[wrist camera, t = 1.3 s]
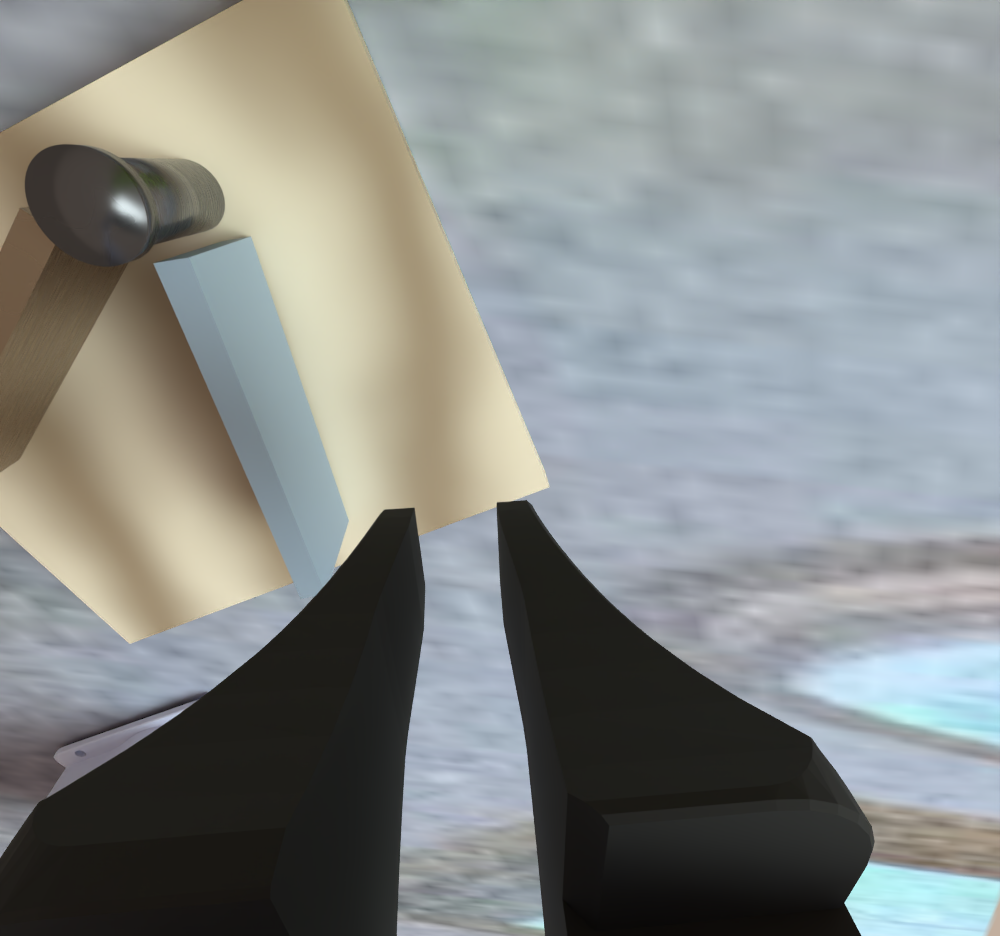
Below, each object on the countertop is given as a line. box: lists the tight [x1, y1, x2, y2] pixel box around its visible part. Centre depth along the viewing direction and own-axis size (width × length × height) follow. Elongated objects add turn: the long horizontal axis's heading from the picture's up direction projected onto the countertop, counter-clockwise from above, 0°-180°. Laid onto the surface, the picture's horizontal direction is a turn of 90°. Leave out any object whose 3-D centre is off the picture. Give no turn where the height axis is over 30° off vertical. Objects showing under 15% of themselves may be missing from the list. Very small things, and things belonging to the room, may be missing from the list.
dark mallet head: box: [0, 144, 225, 472], centre depth 14 cm, size 12×2×5 cm, turn 138°
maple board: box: [0, 0, 549, 644], centre depth 18 cm, size 19×16×1 cm
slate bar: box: [153, 237, 349, 599], centre depth 16 cm, size 10×1×4 cm, turn 8°
